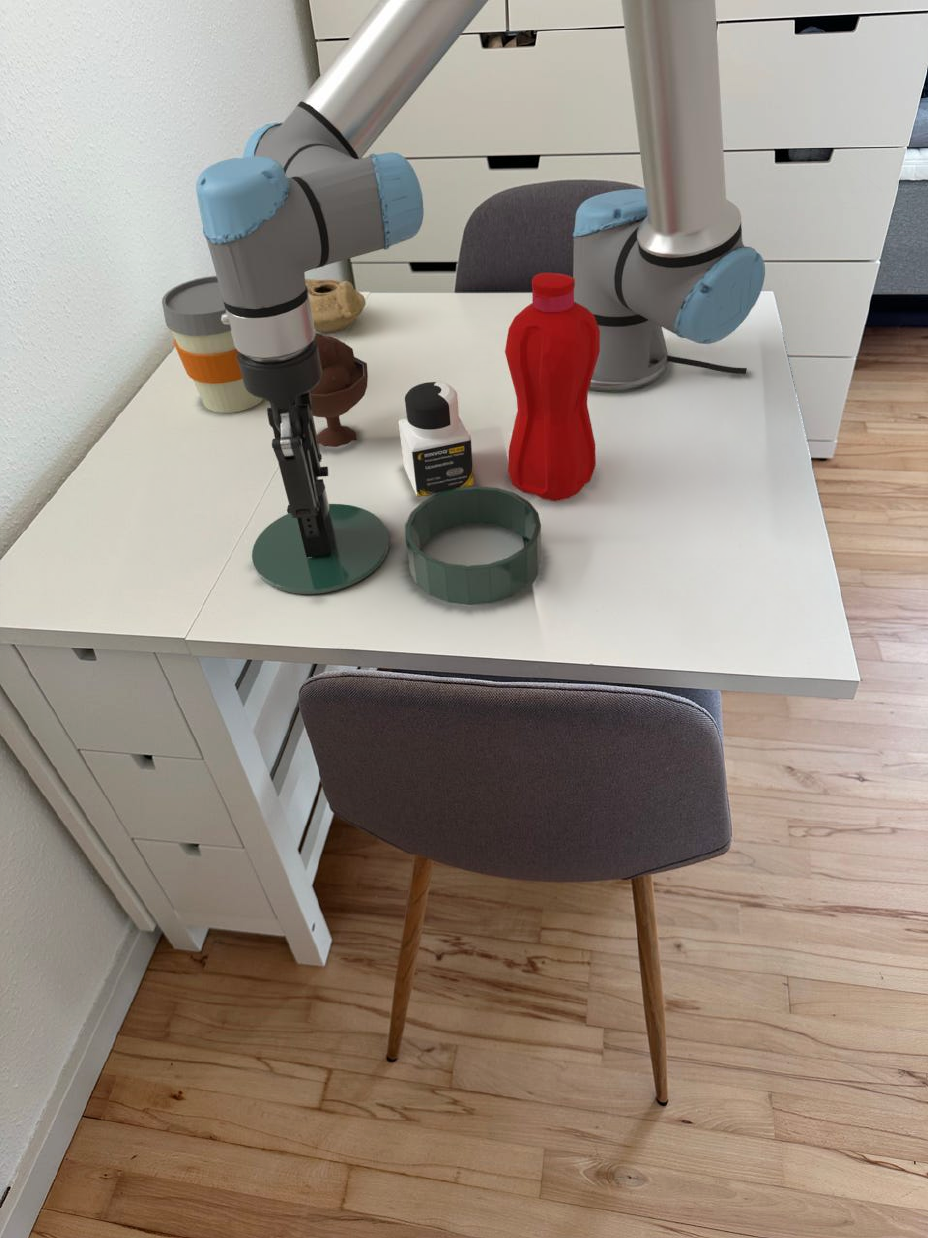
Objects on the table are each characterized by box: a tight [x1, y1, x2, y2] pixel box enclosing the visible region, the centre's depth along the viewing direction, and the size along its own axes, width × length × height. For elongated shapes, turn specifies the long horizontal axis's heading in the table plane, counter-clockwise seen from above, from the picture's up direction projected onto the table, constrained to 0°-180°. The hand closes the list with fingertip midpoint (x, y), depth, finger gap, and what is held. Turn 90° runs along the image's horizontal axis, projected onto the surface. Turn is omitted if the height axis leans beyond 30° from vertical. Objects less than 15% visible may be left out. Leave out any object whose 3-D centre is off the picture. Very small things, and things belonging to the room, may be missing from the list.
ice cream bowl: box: [310, 332, 369, 448], centre depth 113 cm, size 11×11×15 cm
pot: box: [404, 485, 542, 606], centre depth 97 cm, size 14×14×5 cm
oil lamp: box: [305, 278, 367, 333], centre depth 141 cm, size 11×15×8 cm
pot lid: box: [251, 479, 390, 595], centre depth 98 cm, size 15×15×9 cm
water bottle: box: [504, 272, 600, 502], centre depth 101 cm, size 9×11×25 cm
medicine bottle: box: [398, 381, 475, 497], centre depth 107 cm, size 7×7×12 cm
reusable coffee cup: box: [161, 275, 264, 414], centre depth 123 cm, size 13×13×15 cm
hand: (319, 541), depth 100 cm, fingers closed on pot lid, 4 cm apart
